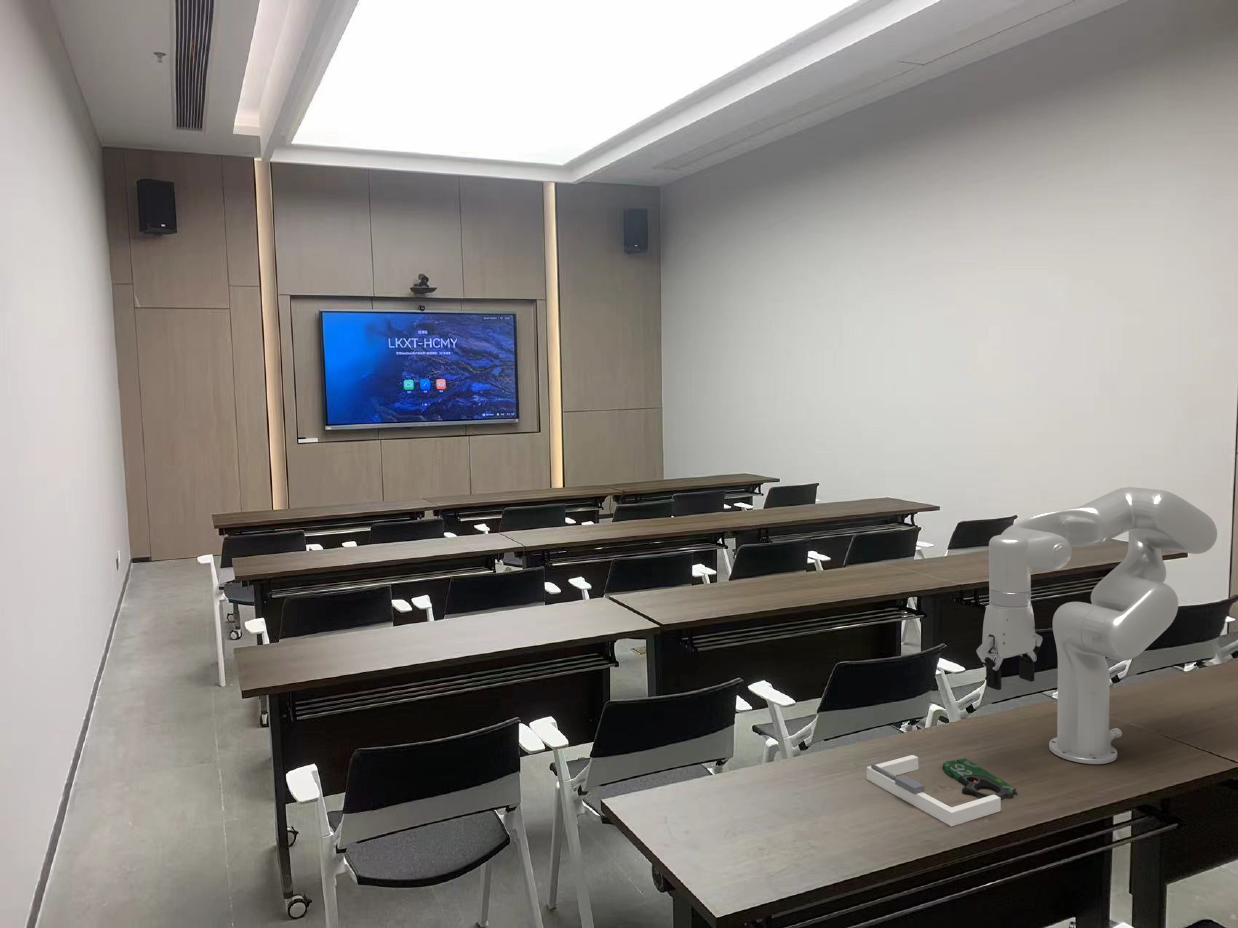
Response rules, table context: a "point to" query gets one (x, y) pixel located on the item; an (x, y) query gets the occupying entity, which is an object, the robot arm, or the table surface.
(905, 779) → the white angled bar
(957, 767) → the gun
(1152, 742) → the table surface
